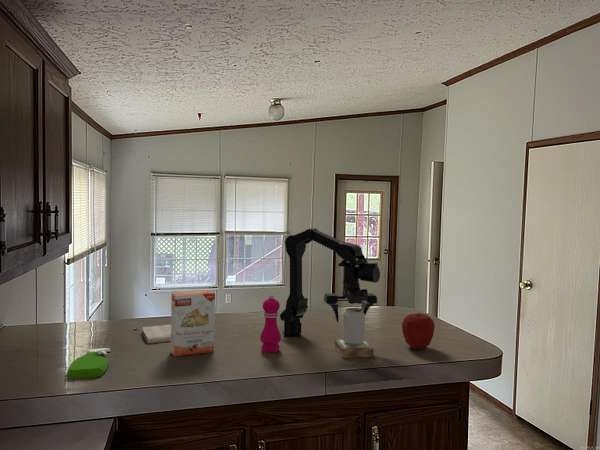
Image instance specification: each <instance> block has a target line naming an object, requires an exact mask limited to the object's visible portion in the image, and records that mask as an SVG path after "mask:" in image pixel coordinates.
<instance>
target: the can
mask: <svg viewBox="0 0 600 450" xmlns="http://www.w3.org/2000/svg"><path fill="white" fill-rule="evenodd" d="M342 323H343V326H342V327H343V328H342V331H343V333H342V336H343V337H342V340H343V341H344V342H345V343H346V344H348V345H354V346H356V345H361V344H362V343H363V342H364V339H365V336H366V334H365V333H366V330H365V328H366V327H365V326H366V315H365V314H364V313H363V310H362V309H361V308H358V307H350V308H349V307H347V308H346V309H345V312H343V322H342Z"/></svg>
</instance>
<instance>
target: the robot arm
mask: <svg viewBox="0 0 600 450" xmlns="http://www.w3.org/2000/svg"><path fill="white" fill-rule="evenodd" d="M312 241H313V242H314V243H317V244H319V245H321V246H323V247H325V248H326V249H330V250H331V251H333V252H334V253H336V255H337V256H338V257H339V258H341V259H342V260H341V262H339V263H338V264H337V265H338V267H343V272H342V273H343V274H342V275H343V276H342V291H341V292H342V294H341V295H337V294H336V293H325V294H324V296H323V301H324V302H325V304H327V305H328V306H329V307H331V308H332V312H333V314H334V317H335V321H336V322H337V323H339V320H340V319H339V304H338V302H348V304H350V305H353V304H357V305H361V308H360V309H362V310H363V313H364V314H365V316H366V315H367V312H368V310H369V309H370V308H371V307H372V306H374V305H375V304H376V305H377V304H378V297H377V295H375V294H374V293H373V292H369V291H368V288H367V289H366V288H365V289H364V288H363V289H361V287H360V282H361V281H362V282H366V283H367V282H368V283H375V284H376V283H378V282H379V281H380V279H381V271H380V268H379V266H378V263H377V262H368V260H367V259H366V256H365V254H363V250H362V247H361V246H360V245H358V244H356V243H350V242H346V241H341V240H339V239H337V238H335V237H332V236H331V235H329V234H326V233H324V232H323V231H321V230H319V229H317V228H315V227H314V228H307V229H306V230H303V231H301V232H297V233H296V234H291V235H288V236H287V237H286V238H285V240H284V245H285V251H286V253H287V255H288V257H289V295H288V296H287V300H286V302H285V309H284V310H283V311H282V312H281V313H280V314H279V319H280V320H281V321H283V322H282V323H283V327H282V328H283V330H282V335H283V337H301V336H302V322H301V319H302V318H303V317H304V315H305V313H307V309H308V308H309V306H308V297H305V296H304V294H303V257H304V254H305V252H306V248H307V244H309V243H311V242H312Z"/></svg>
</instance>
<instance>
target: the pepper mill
mask: <svg viewBox="0 0 600 450" xmlns="http://www.w3.org/2000/svg"><path fill="white" fill-rule="evenodd" d="M274 297H275V296H274V294H272V293H270V294H269V296H268V298H266V299H265V300H264V301H263V303H262V309H263V312H264V313H263V314H264V315H263V317H264V326H263V328H262V331H261V333H260V342H261V343H262V345H261V351H262V352H263V353H268V354H271V353H272V354H274V353H277V352H279V351H280V345H279V343H280V341H281V339H282V335H281V332H280V329H279V327H278V324H277V323H278V322H277V321H278V320H277V319H278V317H279V312H278V311H279V310H280V307H281V305H280V302H279V300H278V299H276V298H274Z"/></svg>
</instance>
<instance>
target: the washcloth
mask: <svg viewBox="0 0 600 450" xmlns="http://www.w3.org/2000/svg"><path fill="white" fill-rule="evenodd" d="M141 330H142V335H143V338H144V339H145V341H146V343H147V344H157V343H165V342H166V343H167V342H171V324H163V325H148V326H143V327H142V329H141Z"/></svg>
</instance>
